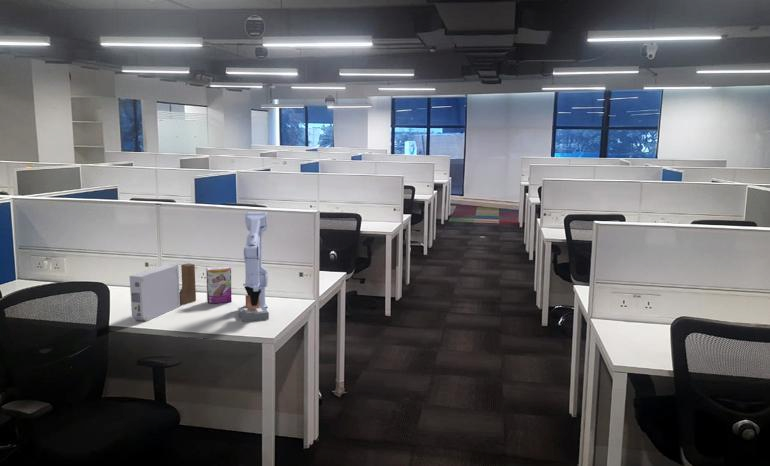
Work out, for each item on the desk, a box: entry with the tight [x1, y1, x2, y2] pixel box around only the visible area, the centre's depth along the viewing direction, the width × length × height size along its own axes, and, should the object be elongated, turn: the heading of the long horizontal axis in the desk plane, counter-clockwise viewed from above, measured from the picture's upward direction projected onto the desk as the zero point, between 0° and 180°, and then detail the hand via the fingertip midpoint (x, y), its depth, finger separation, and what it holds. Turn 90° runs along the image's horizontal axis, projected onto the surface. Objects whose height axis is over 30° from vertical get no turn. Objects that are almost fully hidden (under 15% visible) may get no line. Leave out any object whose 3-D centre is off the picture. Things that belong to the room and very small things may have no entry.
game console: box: [129, 263, 181, 322], centre depth 267 cm, size 6×27×20 cm, turn 164°
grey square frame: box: [237, 306, 270, 323], centre depth 264 cm, size 11×11×3 cm
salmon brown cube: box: [245, 294, 260, 309], centre depth 263 cm, size 5×5×5 cm
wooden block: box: [179, 263, 197, 306], centre depth 286 cm, size 9×4×18 cm, turn 147°
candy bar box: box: [205, 266, 233, 304], centre depth 288 cm, size 11×5×16 cm, turn 111°
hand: (253, 303), depth 264 cm, fingers closed on salmon brown cube, 5 cm apart
